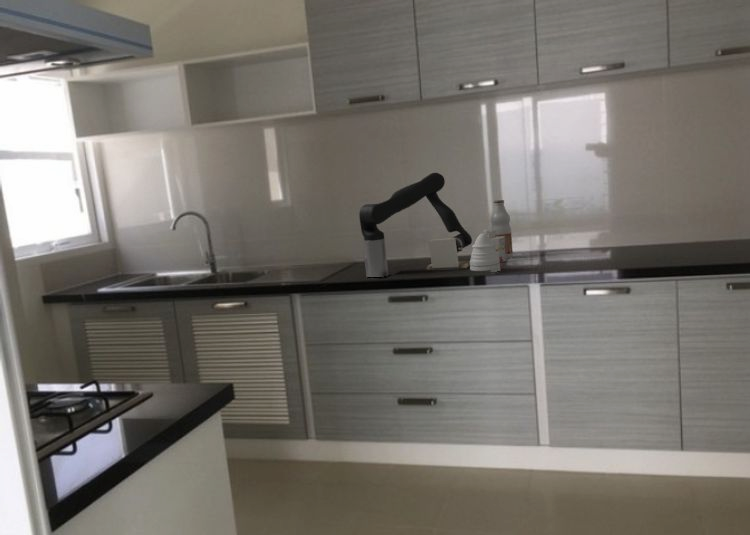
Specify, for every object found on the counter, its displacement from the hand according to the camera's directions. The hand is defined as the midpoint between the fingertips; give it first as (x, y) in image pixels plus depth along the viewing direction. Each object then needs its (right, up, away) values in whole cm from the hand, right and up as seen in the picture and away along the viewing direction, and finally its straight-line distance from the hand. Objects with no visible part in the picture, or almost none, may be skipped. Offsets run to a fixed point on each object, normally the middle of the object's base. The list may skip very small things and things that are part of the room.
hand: (443, 251), depth 288 cm
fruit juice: (+32, -3, +28) cm, 42 cm away
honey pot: (+17, -9, -6) cm, 21 cm away
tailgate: (+1, -8, +2) cm, 8 cm away
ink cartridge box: (+28, -5, +17) cm, 33 cm away
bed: (+4, -8, +8) cm, 12 cm away
